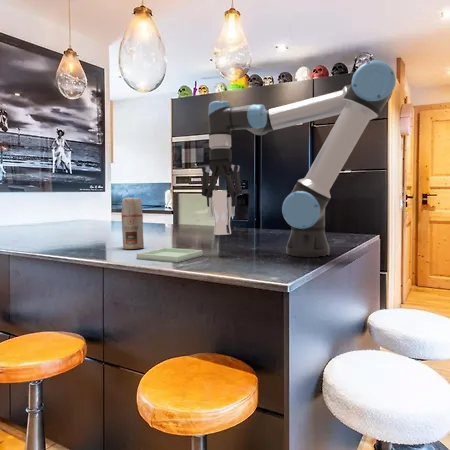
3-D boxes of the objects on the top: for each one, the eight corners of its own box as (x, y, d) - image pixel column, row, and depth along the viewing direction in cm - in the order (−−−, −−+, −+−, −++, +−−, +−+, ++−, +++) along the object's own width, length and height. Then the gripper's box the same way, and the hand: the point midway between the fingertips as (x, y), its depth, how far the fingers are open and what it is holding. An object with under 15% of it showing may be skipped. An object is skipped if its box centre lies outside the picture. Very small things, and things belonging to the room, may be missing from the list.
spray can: (117, 249, 157) (116, 197, 156) (130, 246, 165) (129, 197, 163) (136, 250, 154) (135, 197, 153) (148, 247, 162) (147, 197, 160)
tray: (202, 255, 142) (202, 250, 142) (177, 262, 128) (177, 257, 128) (164, 252, 149) (164, 247, 149) (136, 259, 135) (136, 253, 135)
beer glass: (230, 235, 136) (229, 190, 135) (210, 235, 138) (209, 190, 137) (234, 232, 143) (233, 190, 142) (214, 233, 145) (213, 190, 143)
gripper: (251, 147, 137) (252, 215, 139) (200, 151, 146) (202, 215, 148) (242, 145, 131) (243, 217, 132) (189, 149, 139) (191, 216, 141)
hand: (222, 216), depth 140 cm, fingers closed on beer glass, 7 cm apart
